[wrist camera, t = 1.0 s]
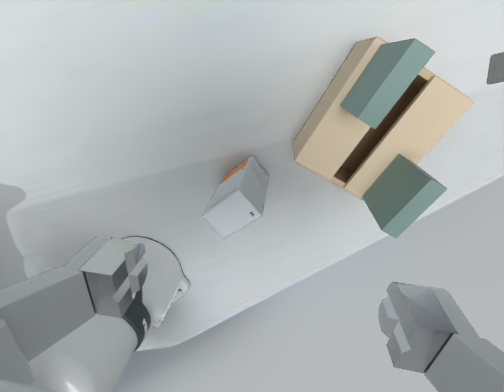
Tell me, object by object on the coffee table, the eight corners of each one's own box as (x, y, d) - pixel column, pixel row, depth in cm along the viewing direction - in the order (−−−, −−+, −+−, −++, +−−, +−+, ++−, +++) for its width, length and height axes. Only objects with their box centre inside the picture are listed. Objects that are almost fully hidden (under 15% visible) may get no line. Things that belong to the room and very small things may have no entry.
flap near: (328, 178, 31) (341, 211, 24) (294, 159, 30) (297, 187, 23) (415, 64, 25) (465, 65, 18) (375, 37, 24) (410, 27, 17)
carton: (356, 179, 39) (372, 205, 32) (292, 142, 37) (294, 161, 30) (429, 90, 33) (470, 98, 25) (356, 42, 31) (378, 36, 24)
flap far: (375, 205, 32) (399, 243, 25) (342, 186, 31) (359, 221, 24) (470, 100, 26) (536, 114, 19) (432, 75, 25) (487, 80, 18)
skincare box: (252, 153, 39) (240, 188, 28) (269, 175, 40) (264, 216, 29) (221, 176, 41) (200, 216, 30) (239, 195, 42) (224, 240, 32)
